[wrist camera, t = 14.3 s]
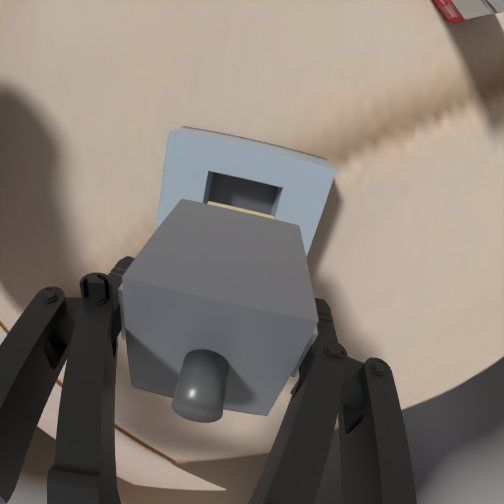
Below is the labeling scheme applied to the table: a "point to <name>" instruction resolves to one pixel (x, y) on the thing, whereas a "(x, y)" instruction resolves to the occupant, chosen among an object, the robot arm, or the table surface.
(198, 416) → the plug
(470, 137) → the table surface
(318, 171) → the socket
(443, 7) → the ink box
